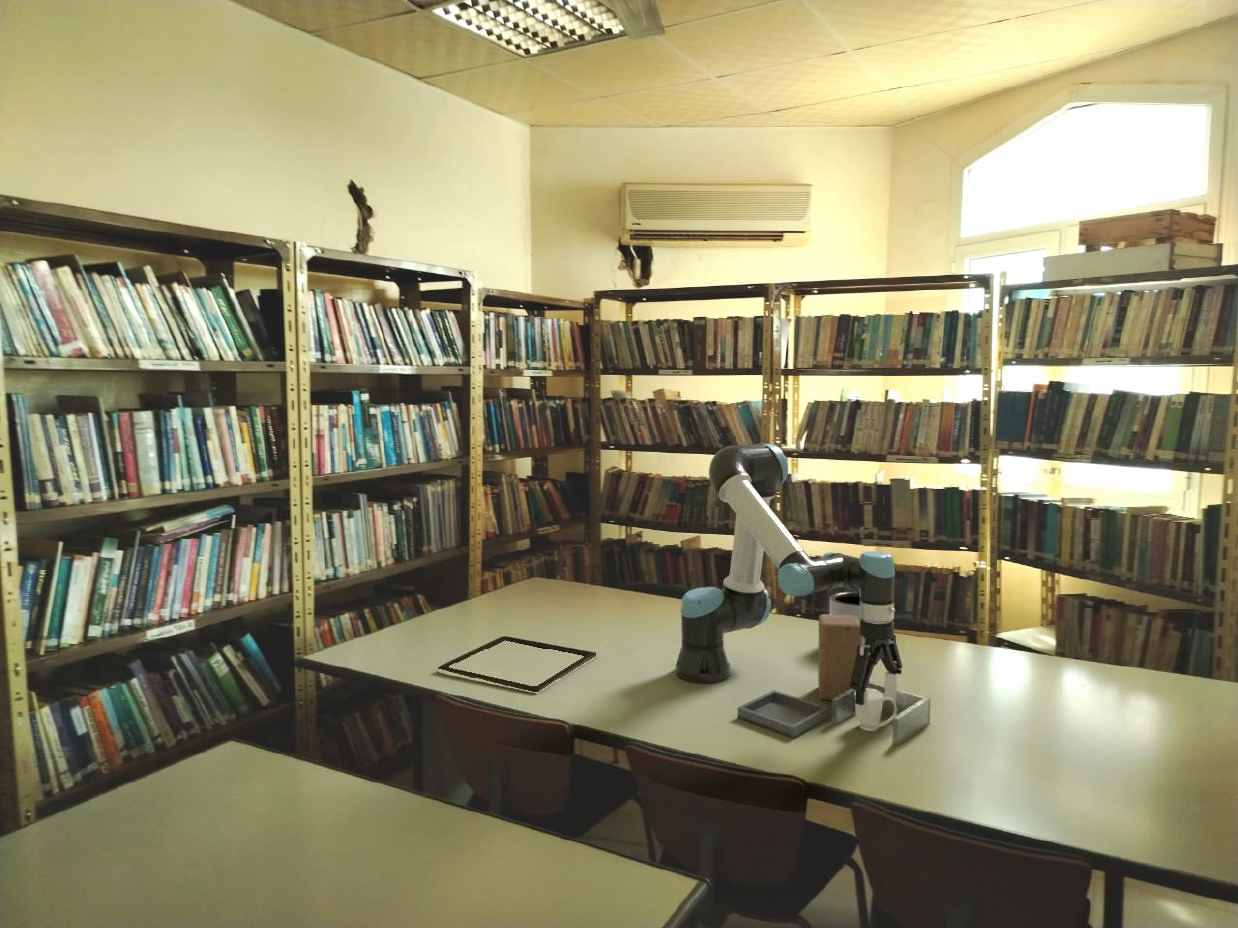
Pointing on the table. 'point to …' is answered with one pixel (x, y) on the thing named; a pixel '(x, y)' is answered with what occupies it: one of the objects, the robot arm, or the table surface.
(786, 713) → the tray
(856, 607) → the planter
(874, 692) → the cup
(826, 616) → the wooden block
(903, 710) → the bay
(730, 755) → the table surface
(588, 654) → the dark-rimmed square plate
